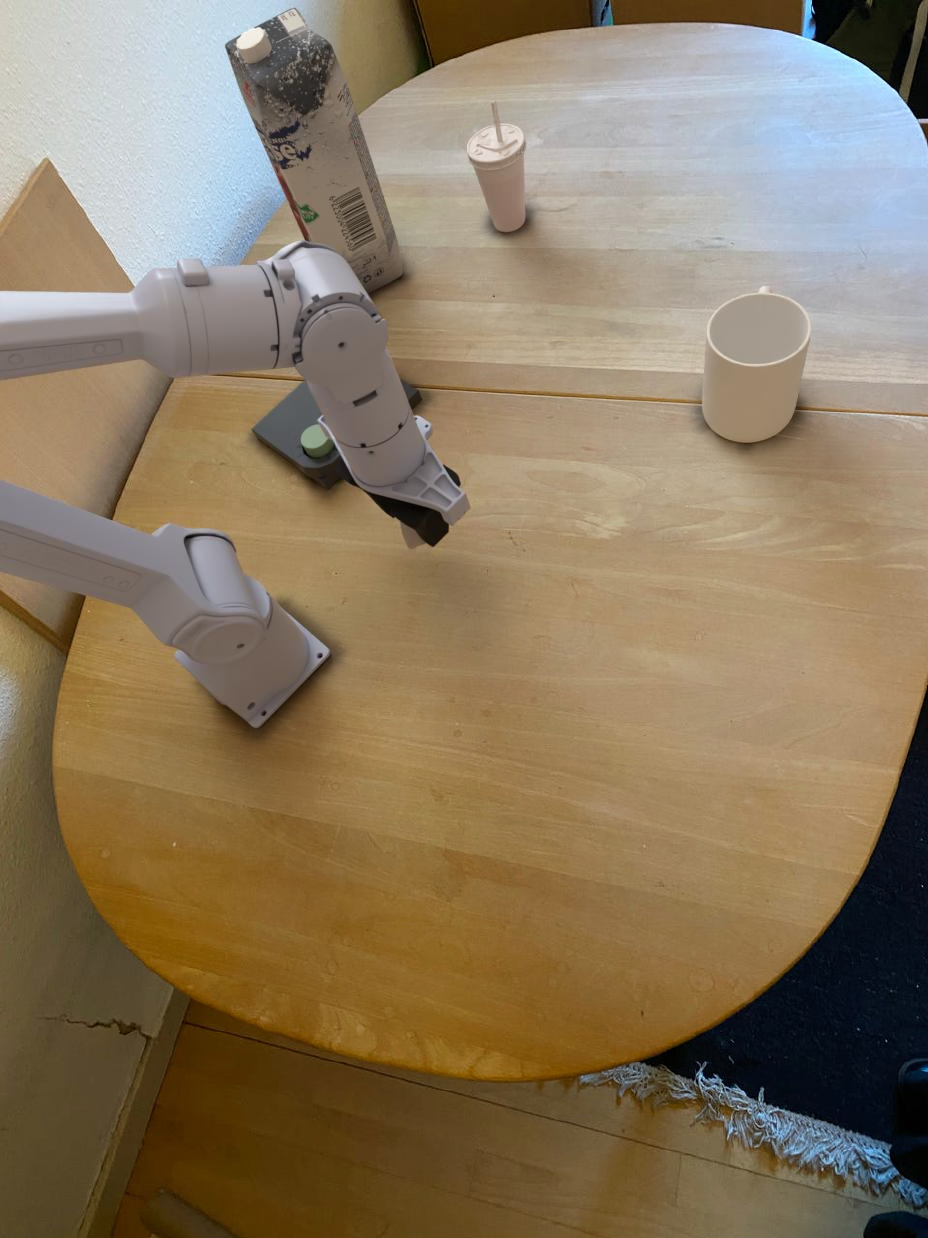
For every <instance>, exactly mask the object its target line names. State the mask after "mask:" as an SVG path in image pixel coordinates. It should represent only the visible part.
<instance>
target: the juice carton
mask: <svg viewBox="0 0 928 1238" xmlns="http://www.w3.org/2000/svg"><path fill="white" fill-rule="evenodd" d="M224 48H225V51H226V54H227V57H228V60H229V62H230V65H231V69H232V71H233V74H234V78H235V80H236V83H237V87H238V89H239V92H240V95H241V97H242V100H243V102H244V104H245V107H246V109H247V111H248V113H249V116H250V118H251V121H252V123H253V125H254V128H255V130H256V132H257V134H258V136H259V139H260V141H261V144H262V146H263V148H264V150H265V153H266V155H267V157H268V159H269V162H270V164H271V166H272V168H273V171H274V173H275V176H276V178H277V180H278V182H279V185H280V187H281V189H282V192H283V194H284V196H285V198H286V201H287V203H288V205H289V208H290V210H291V213H292V214H293V217H294V219H295V221H296V223H297V226H298V228H299V230H300V232H301V234H302V237H303V240H305V241H308V242H311V243H321V244H324V245H327V246H329V247H331V248H333V249H334V250H336V251H337V252H338V253H339V254H340V255H341V256H342V257H343V258H344V259H345V260H346V261H347V263H348V264H349V266H350V267H351V269H352V270H353V272H354V273H355V275H356V277H357V278H358V280H359V281H360V283H361V284H362V286H363V287H364V289H365V291H366V292H367V294H368V295H369V294H371V293H373V292H374V291H376V290H378V289H380V288H382V287H384V286H385V285H388V284H390V283H392V282H393V281H395V280H398V278H400V277H402V275H403V272H404V271H403V263H402V257H401V251H400V246H399V241H398V237H397V234H396V231H395V230H396V229H395V227H394V224H393V221H392V218H391V215H390V212H389V209H388V205H387V202H386V199H385V196H384V193H383V191H382V187H381V184H380V181H379V177H378V175H377V172H376V169H375V165H374V162H373V159H372V155H371V153H370V150H369V147H368V143H367V140H366V138H365V137H366V136H365V134H364V131H363V128H362V125H361V122H360V119H359V116H358V113H357V110H356V106H355V104H354V100H353V97H352V94H351V92H350V91H351V90H350V89H349V86H348V83H347V80H346V77H345V74H344V71H343V70H342V67H341V65H340V62H339V60H338V58H337V55H336V53H335V50H334V48H333V45H332V44H331V42H329V41H328V40H327V39H326V38H325V37H324V36H321V35H319V33H317V32H315V31H314V30H313V29H312V28H311V27H310V26H309V24H308V23H307V21H306V20H305V18H304V16H303V15H302V13H301V12H300V11H299V9H298V8H296V7H291V8H289V9H286V10H285V11H283V12H281V13H279V14H277V15H275V16H273V17H271V18H269V19H267V20H265V21H264V22H262V23H260V24H258V25H256V26H254V27H251V28H249V29H248V30H247V31H244V32H242V33H241V34H239V35H237V36H235V37H234V38H232V39H230V40H228V41H227V42H226V43H225V44H224Z"/></svg>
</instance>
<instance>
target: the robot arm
mask: <svg viewBox="0 0 928 1238" xmlns="http://www.w3.org/2000/svg"><path fill="white" fill-rule="evenodd" d="M388 341H389V324H388V321H387V319H386V318H382V317H381V314H380V312H379V309H378V308H377V306H376V304H375V303H374V302H373V300H372V298H371V297H370V295H369V294H367V292H366V291H365V289H364V287H363V286H362V284H361V283H360V281H359V280H358V278H357V277H356V275H355V273H354V272H353V270H352V269H351V267H350V266H349V264H348V263H347V261H346V260H345V259H344V258H343V257H342V256H341V255H340V254H339V253H338V252H337V251H336V250H334V249H333V248H331V247H329V246H327V245H324V244H321V243H311V242H308V241H305V239H300V240H296V241H293V242H291V243H289V244H287V245H285V246H283V247H282V248H280V249H279V250H278V251H277V252H275V254H273V255H272V256H271V257H269V258H266V259H264V260H256V263H255V264H237V265H233V264H231V265H211V266H209V265H207V266H205V264H204V262H203V260H202V259H201V258H195V257H194V258H178V259H177V261H176V267H161V268H160V267H158V268H157V267H155V268H152V269H150V271H148V272H147V273H146V274H145V275H144V276H143V277H142V278H141V280H140V281H139V282H138V283H137V284H136V285H135V287H134V288H132V289H131V290H130V291H129V292H106V291H105V292H104V291H103V292H102V291H99V292H97V291H32V290H30V291H28V290H0V382H1V381H8V380H14V379H20V378H27V377H34V376H40V375H46V374H53V373H60V372H66V371H67V372H68V371H72V370H78V369H79V370H80V369H87V368H93V367H98V366H99V367H101V366H106V365H113V364H119V363H125V362H131V361H132V362H133V361H139V360H142V361H143V362H146V363H147V364H149V365H150V366H152V367H153V368H155V369H156V370H158V371H160V372H161V373H162V374H164V375H165V376H167V377H169V378H171V379H183V378H192V377H193V378H194V377H204V376H213V375H214V376H216V375H225V374H235V373H245V372H246V373H247V372H255V371H267V370H268V371H269V370H277V369H278V370H279V369H289V368H294V369H295V371H296V372H297V373H298V374H299V375H300V376H301V377H302V378H303V379H304V380H305V379H306V380H307V383H308V387H309V390H310V392H311V393H312V395H313V397H314V399H315V401H316V403H317V405H318V407H319V409H320V410H321V412H322V414H323V415H322V416H321V417H320V418H319V419H318V420H317V422H318V423H319V425H320V427H321V429H322V431H323V433H324V434H325V436H326V437H328V438H329V439H330V440H333V442H334V444H335V445H336V447H337V449H338V451H339V453H340V455H341V457H342V459H341V460H340V461H339V462H338V463H337V465H336V472H337V474H338V475H339V476H340V477H341V478H340V479H343V480H344V481H345V482H347V483H348V484H349V485H351V486H353V487H356V488H358V489H360V490H362V491H363V492H364V493H365V494H366V495H367V496H368V497H369V498H370V499H371V500H372V501H373V502H374V503H375V504H376V505H377V506H378V507H379V508H380V510H382V511H383V513H385V514H386V515H388V516H389V517H391V518H392V519H397V520H398V521H399V522H400V521H401V522H402V523H403V524H405V525H407V526H408V527H410V528H412V529H414V530H415V531H416V532H417V534H418V535H419V536H420V538H421V539H422V540H423V541H424V542H426V544H427V545H428V546H430V547H431V548H435V547H436V545H438V543H440V542H441V540H443V538H445V537H446V536H447V534H449V533H450V526H451V527H453V526H455V525H456V524H457V523H458V522H459V521H460V520H461V519H462V518H463V517H464V516H465V515H466V514H467V513H468V512H469V510H471V509H472V507H471V503H470V501H469V498H468V496H467V493H466V492H465V491H464V490H463V489H462V488H460V487H461V485H462V482H461V479H460V476H459V474H458V473H457V472H456V471H455V470H453V469H452V468H450V467H448V466H447V465H446V464H442V462H441V460H440V459H439V457H438V456H437V454H436V453H435V450H434V449H433V447H432V446H431V444H430V443H429V441H428V440H429V438H430V437H432V435H433V434H434V427H433V424H432V423H431V422H429V420H426V419H425V418H424V417H422V416H420V415H414V413H413V409H411V407H410V405H409V402H408V399H407V396H406V394H405V391H404V389H403V386H402V384H401V381H400V379H401V378H400V376H399V372H398V371H397V369H396V366H395V363H394V361H393V357H392V355H391V353H390V351H389V349H388V348H387V345H388ZM0 573H2V574H6V575H10V576H13V577H17V578H20V579H24V580H28V581H31V582H35V583H39V584H42V585H46V586H49V587H53V588H57V589H60V590H64V591H67V592H71V593H73V594H74V593H75V594H79V595H82V596H85V597H90V598H93V599H96V600H100V601H103V602H107V603H110V604H115V605H118V606H122V607H124V608H125V607H126V608H129V609H130V610H131V611H133V612H134V613H135V614H136V615H137V616H138V618H139V619H140V620H141V621H142V623H143V624H144V625H145V626H146V627H147V628H148V630H150V632H151V633H152V634H153V635H154V636H155V638H156V639H157V640H158V641H159V642H161V644H162V645H164V646H166V647H169V648H173V649H177V650H176V652H175V654H174V655H173V657H174V659H175V660H176V661H177V663H179V665H181V666H182V668H183V669H185V670H186V671H187V673H189V674H190V675H191V676H192V677H193V678H194V679H195V680H196V681H197V682H198V683H199V684H200V685H201V686H203V688H205V689H206V690H207V691H208V692H209V694H210V695H211V696H212V697H213V698H214V699H215V700H217V701H218V702H219V703H220V704H221V705H222V706H226V707H228V708H229V709H230V710H232V711H233V712H234V713H235V714H236V715H238V716H239V717H241V718H242V719H243V720H244V721H246V722H247V723H248V724H249V726H251V727H252V728H254V729H259V728H261V727H262V726H263V725H264V723H266V722H267V720H268V719H270V717H271V716H273V715H274V714H275V712H276V711H277V710H278V709H280V708H281V706H282V705H283V704H284V703H285V702H286V701H287V700H289V698H291V696H292V695H293V694H294V693H295V692H296V691H297V690H298V689H299V688H300V686H302V685H303V684H304V683H305V681H307V679H308V678H310V676H312V675H313V673H315V672H316V670H317V669H318V668H319V667H320V666H321V665H322V664H323V663H324V662H325V661H326V660H327V659H328V658H329V657H330V656H331V650H330V649H329V648H328V647H327V646H326V645H325V643H323V642H322V641H321V640H319V639H318V638H317V637H316V636H315V635H314V634H313V633H311V632H310V631H309V630H308V629H307V628H306V627H305V626H304V625H302V624H301V623H300V622H299V621H297V620H296V619H295V618H294V617H293V616H292V615H291V614H290V613H288V612H287V611H286V610H285V609H284V608H282V606H281V605H280V604H279V603H278V602H277V601H276V599H275V598H274V597H273V596H272V595H271V593H270V592H269V591H268V590H267V589H266V588H265V587H264V585H263V584H262V583H261V582H260V581H259V580H257V579H256V578H254V577H252V576H250V575H248V574H246V573H245V572H244V571H243V569H242V565H241V563H240V560H239V558H238V555H237V548H236V546H235V543H234V541H233V539H232V538H231V537H230V535H228V534H227V533H225V532H223V531H221V530H219V529H214V528H190V527H185V526H181V525H179V524H176V523H173V522H167V523H165V524H164V525H162V526H160V527H158V528H157V529H156V530H154V531H153V532H152V533H147V532H144V531H142V530H139V529H136V528H133V527H131V526H128V525H126V524H123V523H120V522H117V521H115V520H112V519H109V518H107V517H103V516H101V515H99V514H95V513H93V512H90V511H87V510H85V509H82V508H79V507H76V506H74V505H71V504H68V503H65V502H63V501H60V500H59V499H55V498H52V497H50V496H47V495H45V494H42V493H39V492H36V491H33V490H32V489H28V488H25V487H23V486H21V485H18V484H15V483H11V482H9V481H6V480H3V479H1V478H0ZM320 656H322V657H320ZM264 713H265V714H264Z"/></svg>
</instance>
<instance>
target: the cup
mask: <svg viewBox="0 0 928 1238" xmlns="http://www.w3.org/2000/svg"><path fill="white" fill-rule="evenodd" d="M812 330H813V325H812V319H811V317H810V315H809V313H808V312H807V310H806V309H805V308H804V307H803V306H802V305H801V304H800V303H799V302H797V301H795V299H792V298H790V297H788V296H786V295H782V294H778V293H773V289H772V287H771V286H769V285H763V286H761V287H760V288H759V289H758V292H751V293H744V294H741V295H739V296H736V297H733V298H731V299H730V300H727V301H725V302H724V303H722V304H721V305H720V306H719V307H718V308H716V310H715V311H714V312H713V313H712V315H711V316H710V318H709V320H708V321H707V325H706V331H705V332H706V333H705V347H704V363H703V364H704V365H703V366H704V367H703V376H702V377H703V378H702V392H701V393H702V394H701V411H702V416H703V419H704V420H705V422H706V424H707V425H708V427H709V428H710V429H711V430H712V431H713V432H714V433H715V434H717V435H719V436H720V437H722V438H723V439H726V440H728V441H732V442H735V443H736V442H737V443H745V444H747V443H749V444H750V443H757V442H761V441H764V440H767V439H770V438H773V436H776V435H777V434H779V433H780V432H781V431H783V430H784V428H786V427H787V426H788V425H789V423H790V422H791V420H792V418H793V415H794V413H795V410H796V407H797V402H798V397H799V393H800V389H801V383H802V379H803V374H804V371H805V370H804V369H805V365H806V361H807V356H808V351H809V347H810V342H811V336H812Z"/></svg>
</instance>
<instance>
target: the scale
mask: <svg viewBox="0 0 928 1238" xmlns="http://www.w3.org/2000/svg"><path fill="white" fill-rule="evenodd" d="M400 381H401V384H402V386H403V389H404V391H405V394H406V396H407V399H408V402H409V405H410V407H411V410H413V409H414V408H415V407H416V406H417V405H418V404H419V402H421V401H422V399H423V397H422V395H421V392H420V390H419V388H416V387H415V386H413V385H411V384H409V383H408V382H406V381H405V380H403V379H402V378H400ZM322 415H323V414H322V412H321V410H320V409H319V407H318V405H317V403H316V401H315V399H314V397H313V395H312V393H311V392H310V390H309V387H308V383H307V380H306V379H305V378H304V380H303V381H302V382H301V383H299V384H298V386H297V387H295V388H294V389H293V390H292V391H291V392H290V393H288V395H286V396H285V398H283V399H282V400H281V401H280V402H279V403H278V404H277V405H275V406H274V408H272V409H271V410H270V411H269V412H268V413H267V414H266V415H265V416H264V417H263V418H261V419H260V420H259V422H257V423H256V424H255V425H254V426H253V427H252V428H251V432H252V433H253V434H254V436H255V438H256V439H258V440H259V441H261V442H262V443H263V444H264V445H266V446H267V447H269V448H270V449H272V451H274V452H275V453H277V454H278V455H280V456H281V457H282V458H284V459H285V460H286V461H288V462H289V463H291V464H292V465H293V466H294V467H296V468H297V469H298V470H299V471H300V472H302V473H303V474H304V475H306V476H307V477H309V478H311V479H312V480H313V481H315V482H316V483H318V484H319V485H320V486H322V487H323V488H325V489H326V490H327V491H328V490H330V489H331V488H332V487H333V486H334V485H335V484H336V483H337V482H338V481H339V480H340V479H342V478H341V477H340V476H339V475H338V474H337V472H336V465H337V463H338V462H339V461H340V460H341V459H342V457H341V455H340V453H339V451H338V449H337V447H336V445H335V444H334V447H333V449H332V451H331V452H330V453H329V454H328V455H326V456H324V457H321V458H313V457H311V456H309V455H308V454H307V452H306V450H305V449H304V447H303V445H302V444H301V436H302V434H303V432H304V431H305V430H306V429H307V428H309V427H310V426H313V425H319V423H318V422H317V420H318V419H319V418H320V417H321V416H322Z"/></svg>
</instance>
